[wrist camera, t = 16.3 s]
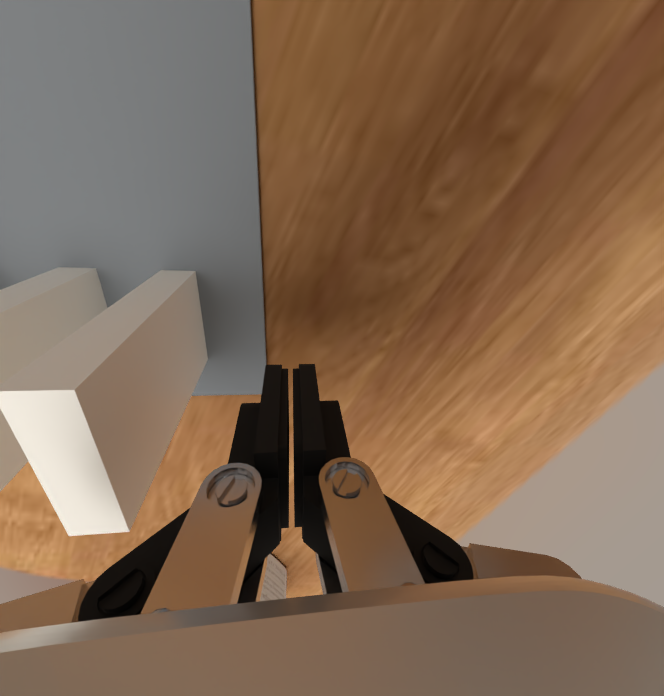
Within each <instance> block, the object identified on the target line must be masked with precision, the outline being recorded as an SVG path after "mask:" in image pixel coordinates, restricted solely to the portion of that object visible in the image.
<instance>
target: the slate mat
mask: <svg viewBox="0 0 664 696" xmlns="http://www.w3.org/2000/svg"><path fill="white" fill-rule="evenodd" d="M58 267H69V268H96V270H97V274H98V277H99V280H100V284H101V287H102V291H103V294H104V298H105V301H106V305H107V308H109V307H110V306H111V305H113V304H114V303H116V302H117V301H118V300H120V299H121V298H123V297H124V296H125V295H127V294H128V293H130V292H131V291H132V290H134V289H135V288H137V287H138V286H139V285H141V284H142V283H144V282H145V281H146V280H148V279H149V278H151V277H152V276H153V275H155V274H156V273H158V272H159V271H160V270H177V271H196V278H197V285H198V292H199V299H200V306H201V313H202V320H203V327H204V335H205V342H206V349H207V356H208V360H207V362H206V365H205V367H204V369H203V371H202V373H201V376H200V378H199V380H198V382H197V384H196V387H195V389H194V391H193V393H192V395H191V396H199V395H248V394H262V388H263V380H264V373H265V366H266V365H267V363H266V340H265V317H264V294H263V271H262V248H261V225H260V203H259V180H258V157H257V134H256V111H255V88H254V65H253V43H252V20H251V0H0V290H1V289H4V288H6V287H9V286H12V285H14V284H17V283H19V282H22V281H24V280H27V279H30V278H32V277H35V276H37V275H40V274H43V273H45V272H48V271H50V270H53V269H55V268H58Z"/></svg>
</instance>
